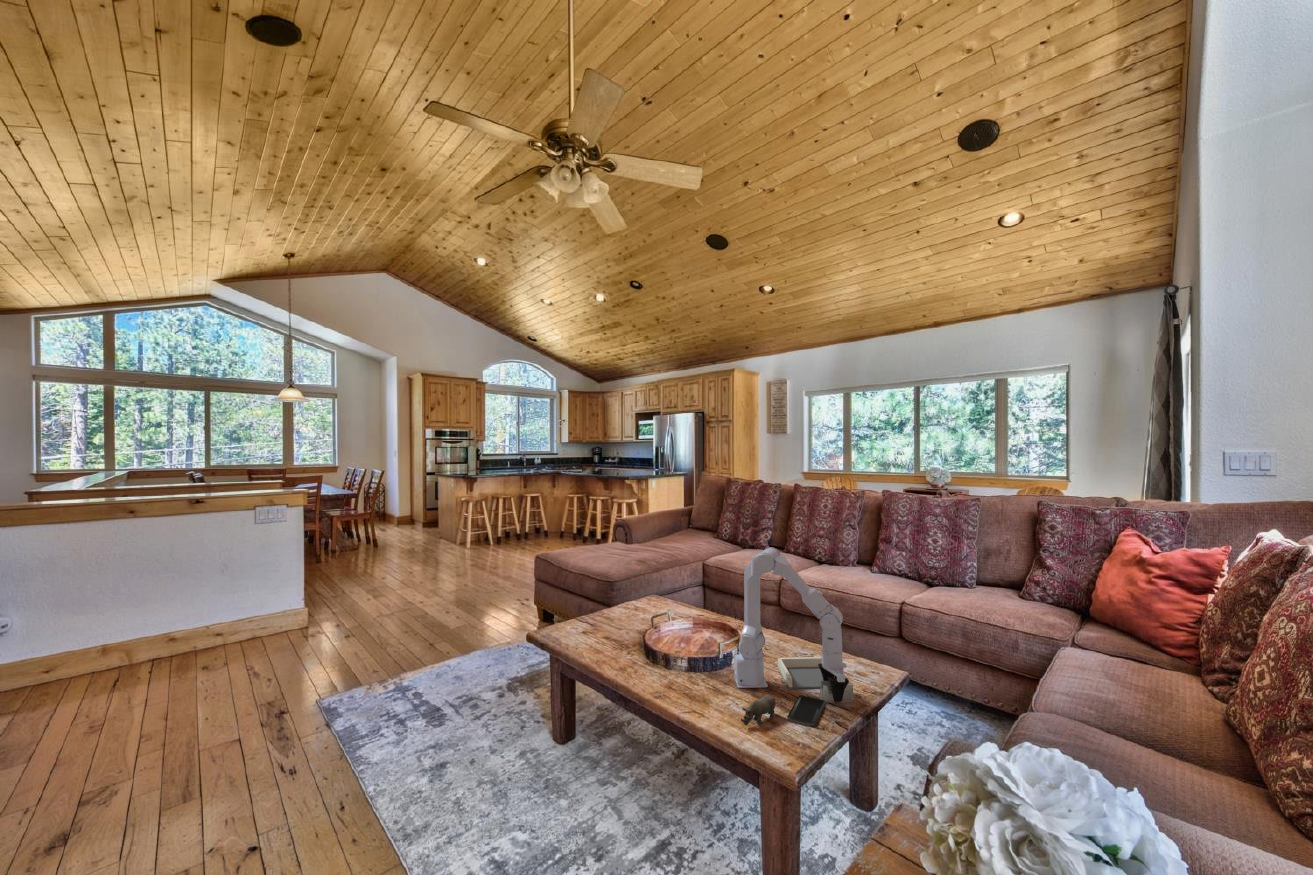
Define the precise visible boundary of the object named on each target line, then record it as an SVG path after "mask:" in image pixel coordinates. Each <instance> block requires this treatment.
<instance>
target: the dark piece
mask: <svg viewBox="0 0 1313 875" xmlns="http://www.w3.org/2000/svg"><path fill="white" fill-rule="evenodd" d="M825 705H826V703H825V701H824V700H821V698H816V697H812V696H807V695H798V696H797V698H796V699H795V701H794V703H793V705H792V708H790V711H789V713H788V715H787V716H786V717H787V721H788V722H790V723H793V724H796V725H797V724H798V725H801V726H805V727H808V728H815V727H816V726H817V725H818V722H819V720H820V717H821V715H822V712H823V710H824V707H826V706H825Z"/></svg>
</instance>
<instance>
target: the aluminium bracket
mask: <svg viewBox="0 0 1313 875" xmlns="http://www.w3.org/2000/svg"><path fill="white" fill-rule="evenodd" d="M845 678H847V679H848V680H849V683H848V685H847V686H846V688H845V691H844V694H843V699H842V702H841V703H854V684H853V683H852V682H851V680H850V679H849V678H848V677H847V675H845ZM819 699H821V700H824V701H825V704H826V703H835V702H834V699H833V694H832V688H831V685H830V682H829V681H820V689H819Z"/></svg>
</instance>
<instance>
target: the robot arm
mask: <svg viewBox="0 0 1313 875" xmlns="http://www.w3.org/2000/svg"><path fill="white" fill-rule="evenodd" d="M770 572H772V573H771V574H772V575H775V576H776V575H777V576H780V577H783V578H784V579H785V580H786V581H787V582H788V583H789V584H790V585H791V586H792V587H793V588H795V590H796V591H797V592H798V594H800V595H801V601H802V602H803V604H804V605H805V606H806V607H807V608H808V609H809V611H811V612H812V614H813V615H814V616H815V617H816V618H817V619H818V620H819V624H820V627H821V629H822V634H821V647H822V648H821V649H822V654H821V658H822V663H821V664H818V667H819V668H820V671H821V673H822V677H823V681H829V682H830V685H831V688H832V694H833V699H834V702H833V703H843V702H842V699H843V694H844V691H845V688H846V686H847V685H848V683H849V681H850V679H849V678H848V677H847V678H848V679H849V680H848V679H847V678H845V676H846V674H845V673H844V669H847V666H848V665H847V664H846V663H845V662H843V635H842V633H843V630H842V626H841V625H842V623H843V619H844V618H843V614H842V612H841V611H840V608H838V607H835V605H833V604H831V603H830V602H829V601H828V600H827V599H826V598H825V597H824V596H823V594H824V593H823V592H822V591H821V590H818V589H817V588H814V587H810V586H809V585H808V584H807V583H806V581H805V580H804V579H803V578H802V576H801V575H800V574H799V573H798V572H797V570H795V568H793V566H792V565H791V563H789V560H787V558H786V557H785V556H784V555H783V554H782V553H781V552H780V551H779V550H778V549H777V548H775V547H772V546H771V547H770V546H769V547H766V548H765V549H763V550H762V551H760V552H759V553H757V554H756V555H754V556H753V557H751V560H750V561H749V563H748V564H747V566H746V568H745V569H744V572H743V574H744V575H743V580H744V581H743V588H744V589H743V590H744V593H743V594H744V595H743V597H744V598H743V600H744V602H743V603H744V604H743V606H744V607H743V611H744V613H743V614H744V615H743V618H744V620H743V621H744V623H743V628H742V631H741V635H740V636H741V637H740V638H741V639H740V641H739V643H738V651H739V654H734V657H733V658H734V659H733V663H734V664H733V665H734V666H733V668H734V672H733V673H734V674H733V675H734V676H733V677H734V680H735V684H736V687H737V688H739V689H749V688H750V689H751V688H752V689H754V688H768V683H767V681H766V679H765V658H764V656H765V655H764V651H763V647H765V645H766V636H765V635H764V632H763V630H764V628H763V626H762V625H761V577H762V576H763V575H764V574H767V573H770Z"/></svg>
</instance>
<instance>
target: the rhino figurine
mask: <svg viewBox="0 0 1313 875" xmlns="http://www.w3.org/2000/svg"><path fill="white" fill-rule="evenodd" d="M775 708H776V700H775V698H774V697H773V696H772V695H771V694H768V695H763V696H762V697H761V698H760V699H758V700H756V699H755V700H753V701H752V702H751V703H750V704H749V706H747V707H746V708H745V707H743V706H742V707H741V709H742V710H743V711H745V713H744V716H743V719H742V718H740V721H741V722H742V723H743V724H744V725H745V726H748V725H749V724H750V722H752V720H754V721H755V722H756V721H757V722H756V725H758V726H761V725H762V724H763V722H762V717H763V715H766V714H768V715H769V719H770V720H774V719H775Z"/></svg>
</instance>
